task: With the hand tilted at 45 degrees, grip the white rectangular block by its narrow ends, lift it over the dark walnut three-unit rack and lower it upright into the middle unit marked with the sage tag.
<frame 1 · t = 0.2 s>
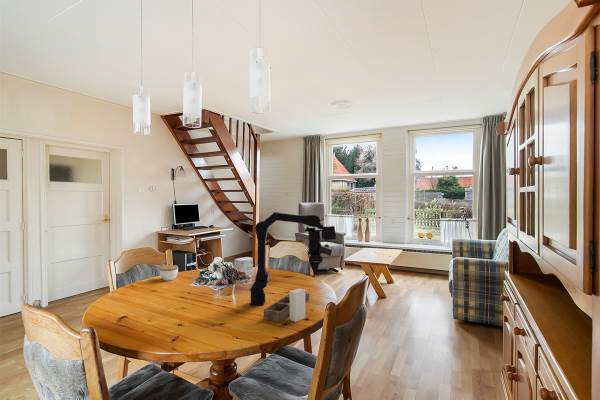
hand: (314, 272, 146), 15 cm above the table, tool pointing down, fingers open, 9 cm apart
white rectangular block: (297, 318, 128), on the table
white round bowl: (169, 279, 189), on the table
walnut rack: (288, 309, 139), on the table
light bulb box: (243, 274, 201), on the table
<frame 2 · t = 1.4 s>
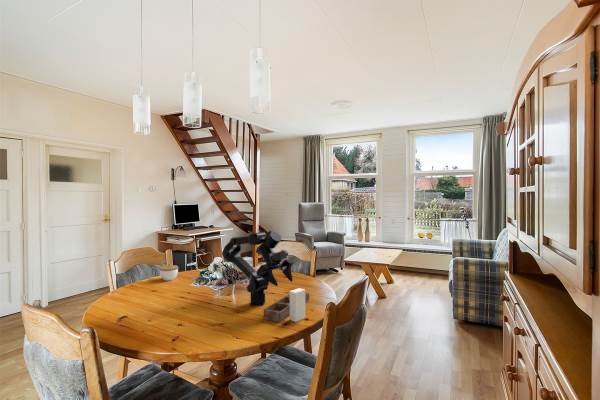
hand: (284, 283, 133), 13 cm above the table, tool tilted 45°, fingers open, 9 cm apart
nothing on the table moved.
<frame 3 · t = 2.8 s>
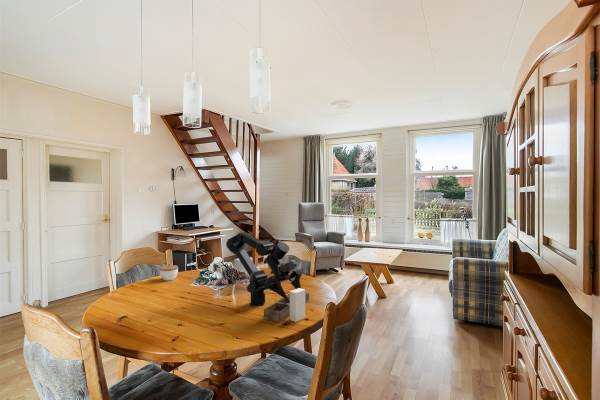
hand: (293, 295, 129), 9 cm above the table, tool tilted 45°, fingers open, 9 cm apart
nothing on the table moved.
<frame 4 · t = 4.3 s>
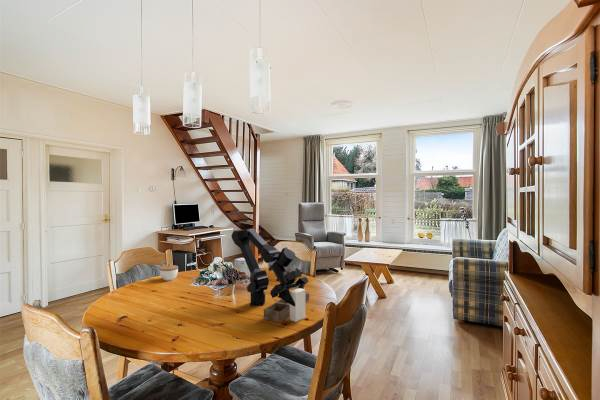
hand: (300, 303, 127), 7 cm above the table, tool tilted 45°, fingers closed on white rectangular block, 6 cm apart
white rectangular block: (297, 318, 128), on the table, touching gripper
everything else where it was.
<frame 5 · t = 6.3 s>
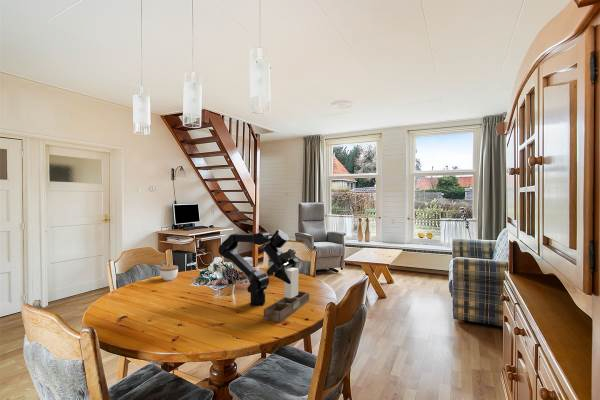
hand: (294, 281, 135), 14 cm above the table, tool tilted 45°, fingers closed on white rectangular block, 6 cm apart
white rectangular block: (291, 295, 136), point 7 cm above the table, touching gripper
everything else where it was.
when the fingers open (8 cm above the table, at t = 8.2 s): white rectangular block stays where it is, resting on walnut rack.
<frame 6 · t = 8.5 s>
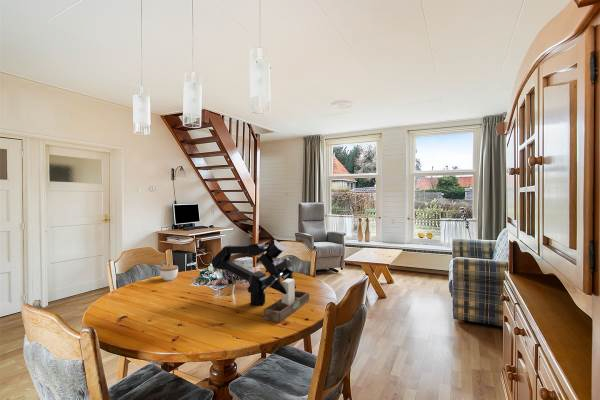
hand: (290, 290, 138), 9 cm above the table, tool tilted 45°, fingers open, 9 cm apart
white rectangular block: (288, 306, 139), point 1 cm above the table, touching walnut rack
everything else where it was.
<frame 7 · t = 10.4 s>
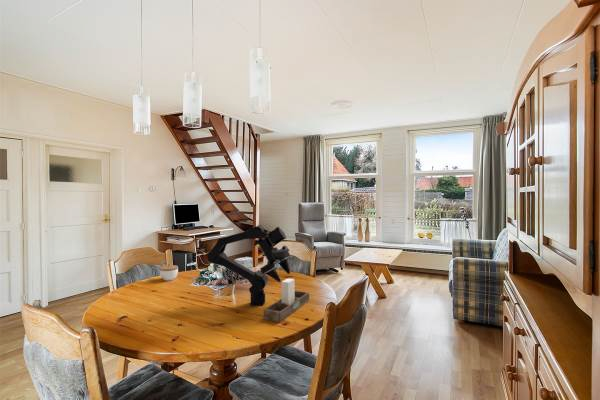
hand: (284, 277, 144), 13 cm above the table, tool tilted 30°, fingers open, 9 cm apart
nothing on the table moved.
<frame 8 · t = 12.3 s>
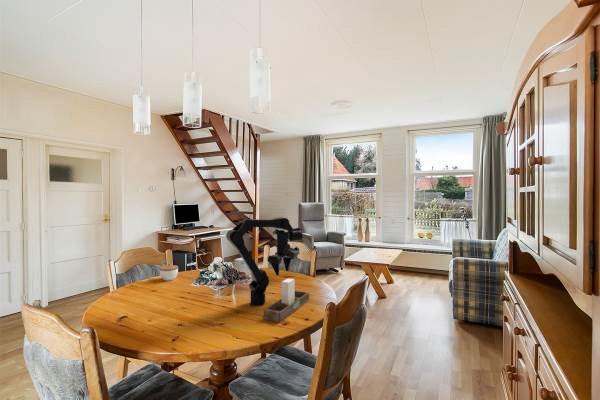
hand: (282, 273, 153), 13 cm above the table, tool pointing down, fingers open, 9 cm apart
nothing on the table moved.
at the end: white rectangular block 0.0 cm off-centre on the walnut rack, point 1.2 cm above the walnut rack's base; white rectangular block tilted 0°; the gripper is holding nothing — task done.
